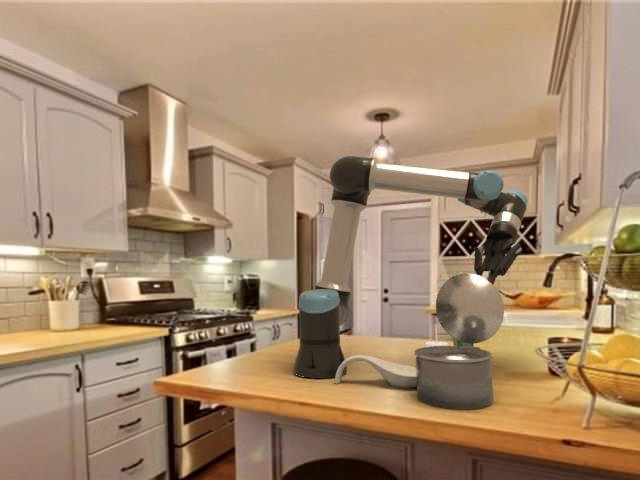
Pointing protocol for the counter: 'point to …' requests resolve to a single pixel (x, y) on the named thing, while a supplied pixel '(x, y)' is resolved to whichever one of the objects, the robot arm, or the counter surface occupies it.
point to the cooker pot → (454, 377)
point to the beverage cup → (436, 343)
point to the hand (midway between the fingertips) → (481, 293)
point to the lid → (469, 308)
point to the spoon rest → (384, 371)
